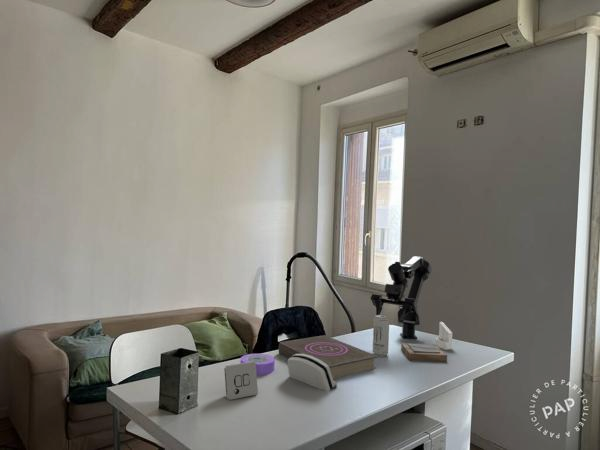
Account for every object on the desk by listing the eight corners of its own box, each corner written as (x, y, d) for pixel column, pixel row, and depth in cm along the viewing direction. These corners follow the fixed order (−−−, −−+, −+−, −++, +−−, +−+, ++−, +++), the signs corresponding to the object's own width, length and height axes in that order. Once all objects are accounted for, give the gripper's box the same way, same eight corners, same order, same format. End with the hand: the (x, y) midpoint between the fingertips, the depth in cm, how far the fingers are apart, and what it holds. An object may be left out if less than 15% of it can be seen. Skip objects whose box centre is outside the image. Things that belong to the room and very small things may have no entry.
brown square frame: (401, 349, 176) (401, 341, 176) (435, 350, 175) (435, 343, 175) (409, 360, 162) (410, 352, 162) (446, 361, 161) (447, 353, 161)
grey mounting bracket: (338, 387, 133) (332, 359, 130) (329, 396, 130) (322, 368, 127) (299, 372, 144) (293, 347, 142) (289, 381, 141) (283, 354, 138)
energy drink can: (369, 354, 167) (371, 316, 167) (377, 351, 172) (378, 313, 172) (383, 358, 163) (384, 318, 163) (390, 354, 168) (392, 316, 168)
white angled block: (434, 336, 188) (442, 321, 184) (449, 353, 180) (457, 338, 176) (428, 337, 186) (436, 322, 182) (442, 354, 178) (450, 339, 174)
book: (377, 369, 151) (377, 355, 151) (327, 381, 139) (327, 366, 139) (324, 347, 177) (324, 335, 177) (278, 355, 164) (278, 342, 164)
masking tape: (263, 361, 155) (263, 351, 155) (280, 371, 145) (281, 360, 145) (234, 367, 148) (234, 356, 148) (250, 378, 139) (251, 366, 139)
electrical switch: (228, 401, 120) (228, 367, 121) (221, 396, 125) (221, 363, 125) (258, 395, 125) (258, 363, 126) (251, 390, 129) (251, 359, 130)
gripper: (373, 274, 182) (360, 303, 173) (416, 279, 172) (405, 310, 163) (379, 290, 189) (368, 320, 180) (421, 296, 179) (411, 327, 170)
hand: (387, 319), depth 173 cm, fingers open, 9 cm apart
